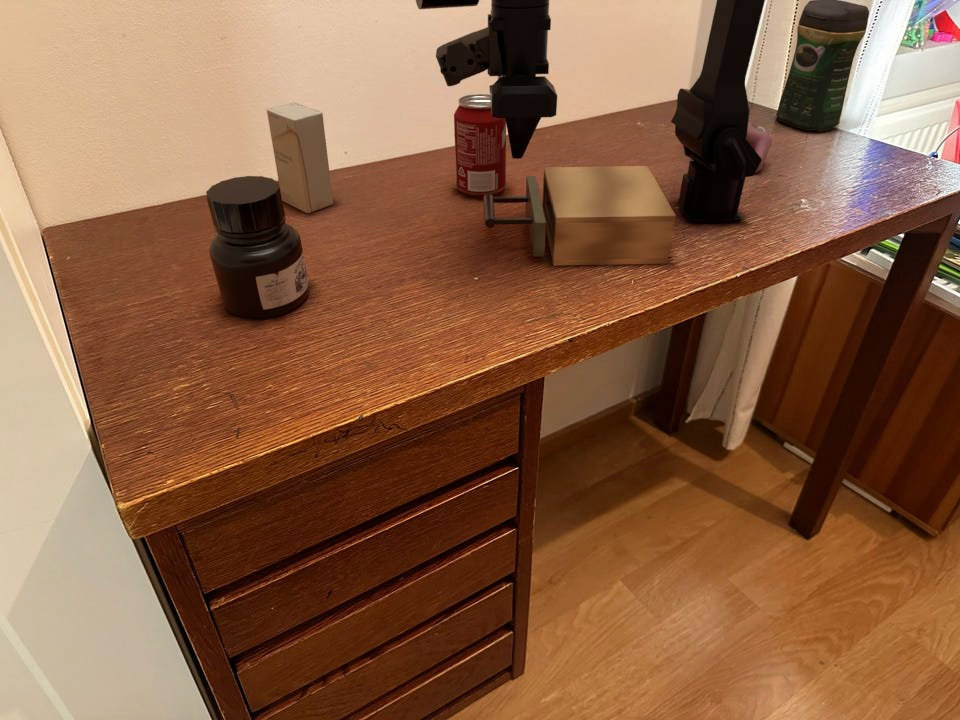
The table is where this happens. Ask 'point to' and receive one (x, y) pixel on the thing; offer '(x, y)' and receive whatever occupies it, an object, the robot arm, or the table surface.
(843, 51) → the coffee jar
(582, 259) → the drawer unit
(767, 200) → the table surface
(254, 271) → the ink bottle
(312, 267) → the table surface
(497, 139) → the soda can
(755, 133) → the video game controller
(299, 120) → the cosmetic box
